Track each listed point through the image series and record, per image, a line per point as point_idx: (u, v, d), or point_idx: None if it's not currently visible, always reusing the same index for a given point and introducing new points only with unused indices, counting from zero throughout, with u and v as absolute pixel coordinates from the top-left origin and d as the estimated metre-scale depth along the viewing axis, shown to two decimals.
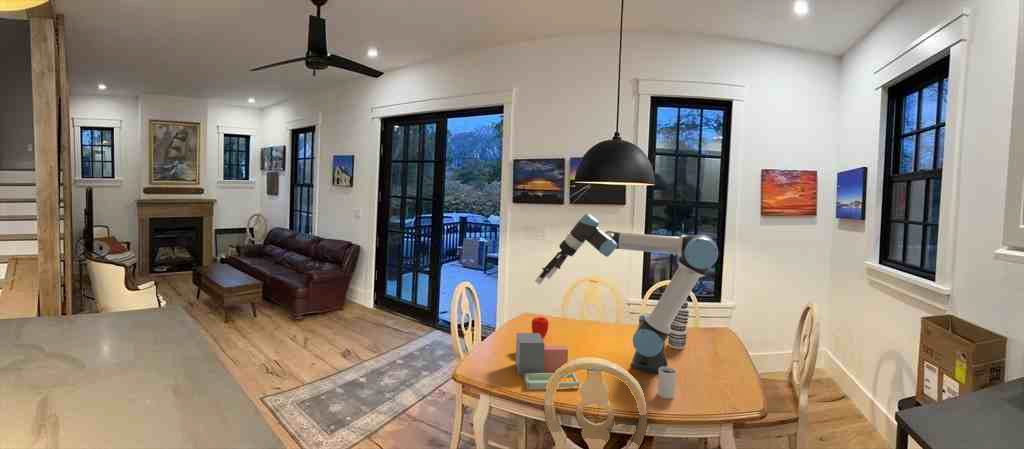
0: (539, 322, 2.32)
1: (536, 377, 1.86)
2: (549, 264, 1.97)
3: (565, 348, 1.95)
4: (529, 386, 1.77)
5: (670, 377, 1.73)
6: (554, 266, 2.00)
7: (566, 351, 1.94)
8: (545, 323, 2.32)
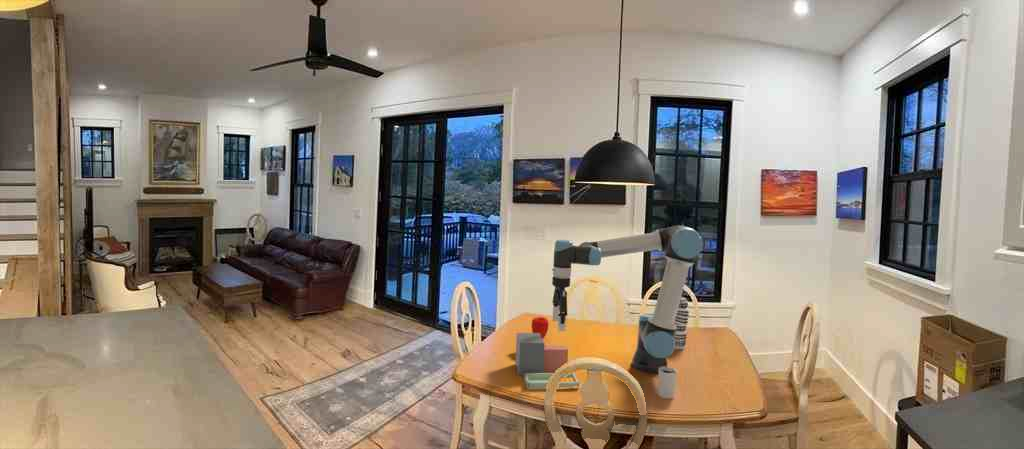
0: (539, 322, 2.32)
1: (536, 377, 1.86)
2: (562, 306, 1.86)
3: (565, 348, 1.95)
4: (529, 386, 1.77)
5: (670, 377, 1.73)
6: None
7: (566, 351, 1.94)
8: (545, 323, 2.32)
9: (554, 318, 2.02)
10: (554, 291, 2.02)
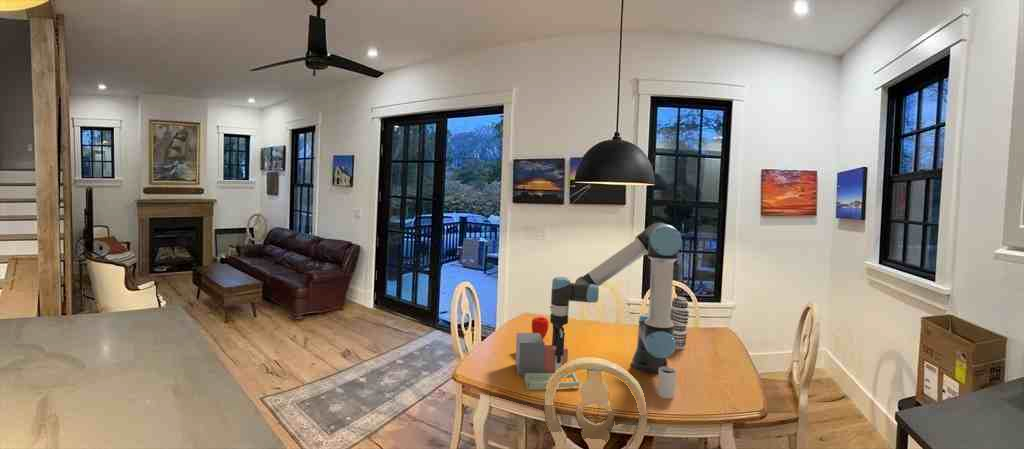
0: (539, 322, 2.32)
1: (536, 377, 1.86)
2: (559, 347, 1.90)
3: (565, 348, 1.95)
4: (529, 386, 1.77)
5: (670, 377, 1.73)
6: None
7: (566, 351, 1.94)
8: (545, 323, 2.32)
9: None
10: None
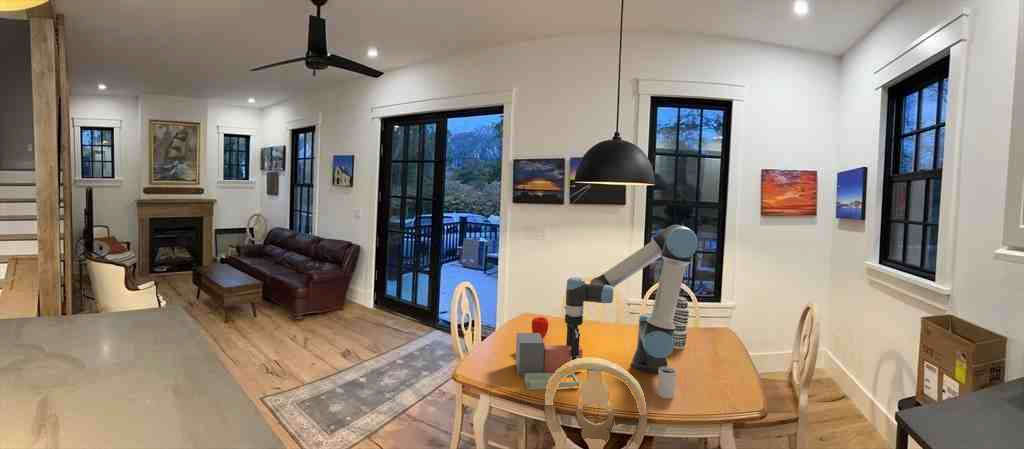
0: (539, 322, 2.32)
1: (536, 377, 1.86)
2: (574, 348, 1.90)
3: (579, 348, 1.96)
4: (529, 386, 1.77)
5: (670, 377, 1.73)
6: None
7: (580, 351, 1.95)
8: (545, 323, 2.32)
9: None
10: (567, 332, 2.02)
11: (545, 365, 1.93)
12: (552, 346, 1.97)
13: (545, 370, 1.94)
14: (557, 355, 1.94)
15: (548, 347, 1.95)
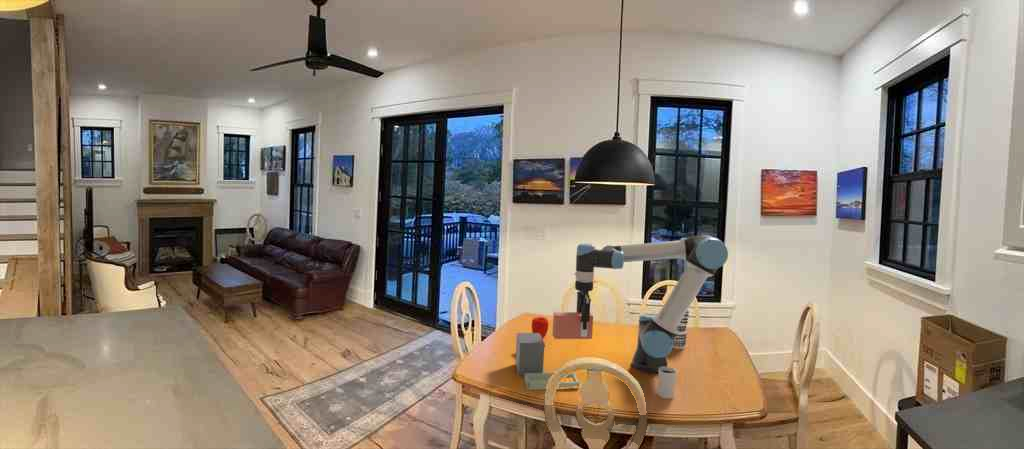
0: (539, 322, 2.32)
1: (536, 377, 1.86)
2: (585, 313, 1.89)
3: (590, 314, 1.95)
4: (529, 386, 1.77)
5: (670, 377, 1.73)
6: None
7: (591, 317, 1.94)
8: (545, 323, 2.32)
9: None
10: (577, 299, 2.01)
11: (556, 331, 1.93)
12: (562, 313, 1.96)
13: (556, 336, 1.93)
14: (567, 321, 1.93)
15: (558, 314, 1.94)
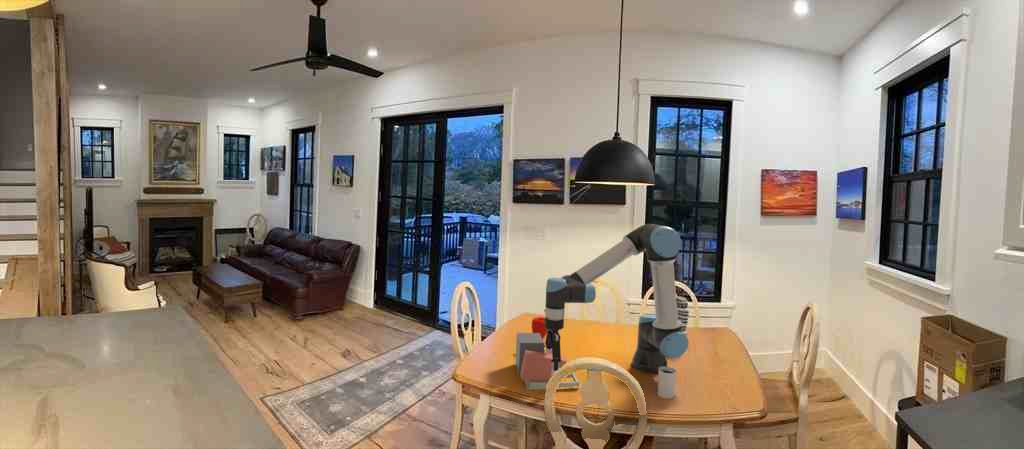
0: (539, 322, 2.32)
1: None
2: (555, 352, 1.73)
3: (563, 359, 1.81)
4: (529, 386, 1.77)
5: (670, 377, 1.73)
6: None
7: (564, 362, 1.80)
8: None
9: None
10: (547, 332, 1.88)
11: (524, 372, 1.78)
12: (534, 353, 1.82)
13: (523, 377, 1.78)
14: (538, 363, 1.79)
15: (530, 353, 1.80)
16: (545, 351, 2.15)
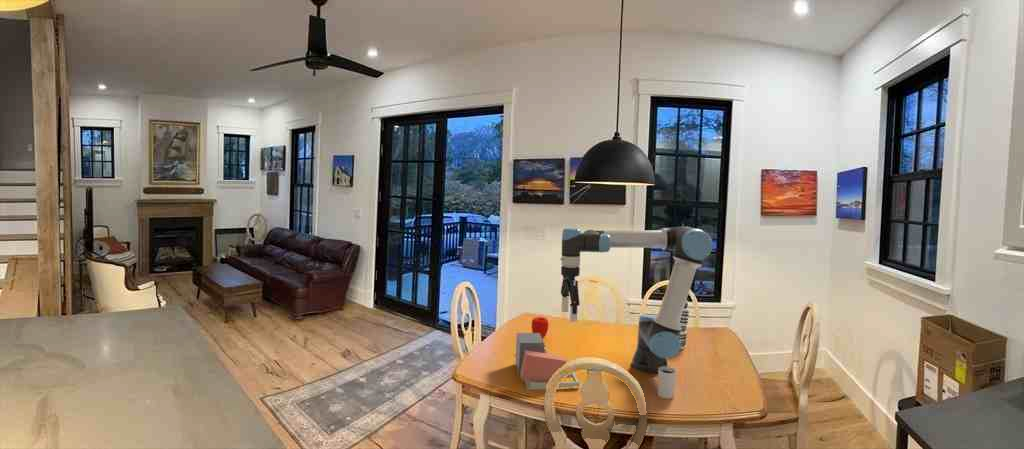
0: (539, 322, 2.32)
1: None
2: (574, 296, 1.81)
3: (563, 359, 1.81)
4: (529, 386, 1.77)
5: (670, 377, 1.73)
6: None
7: (564, 362, 1.80)
8: (545, 323, 2.32)
9: (563, 309, 1.97)
10: None
11: (524, 372, 1.78)
12: (534, 353, 1.82)
13: (523, 377, 1.78)
14: (538, 363, 1.79)
15: (530, 353, 1.80)
16: (546, 351, 2.15)
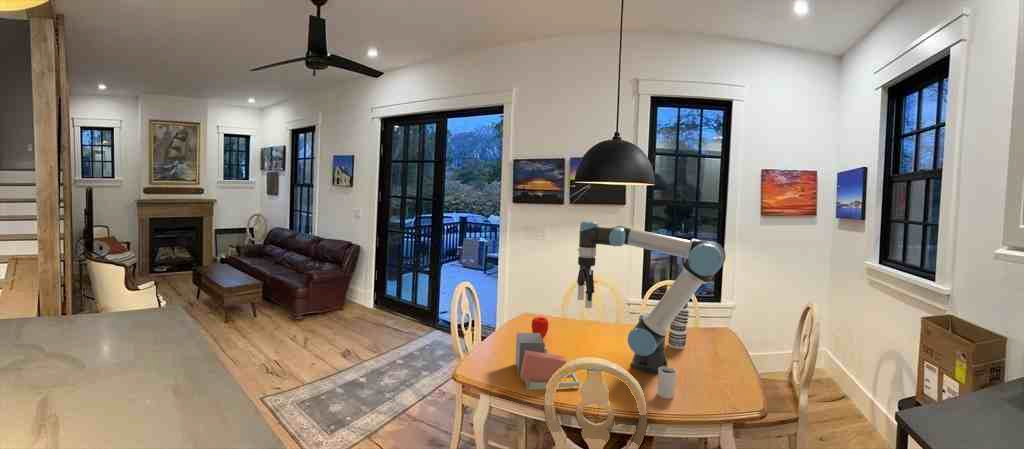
0: (539, 322, 2.32)
1: None
2: (589, 284, 1.95)
3: (563, 359, 1.81)
4: (529, 386, 1.77)
5: (670, 377, 1.73)
6: None
7: (564, 362, 1.80)
8: (545, 323, 2.32)
9: (579, 297, 2.11)
10: (579, 271, 2.11)
11: (524, 372, 1.78)
12: (534, 353, 1.82)
13: (523, 377, 1.78)
14: (538, 363, 1.79)
15: (530, 353, 1.80)
16: (547, 351, 2.15)
